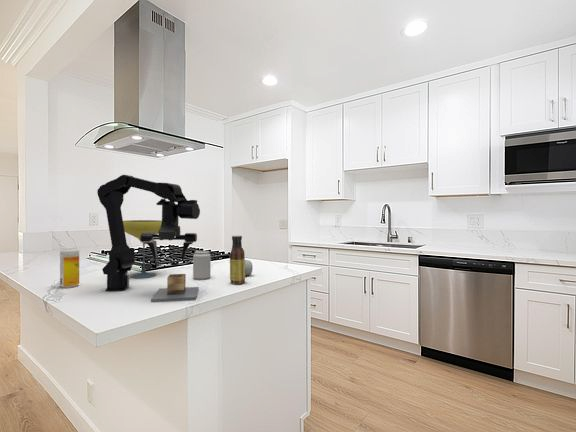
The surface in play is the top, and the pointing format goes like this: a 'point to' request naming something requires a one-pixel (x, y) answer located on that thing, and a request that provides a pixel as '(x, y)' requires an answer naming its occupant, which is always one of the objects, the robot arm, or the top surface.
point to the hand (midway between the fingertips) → (169, 260)
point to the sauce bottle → (237, 261)
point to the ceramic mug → (248, 267)
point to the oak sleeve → (176, 284)
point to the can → (201, 265)
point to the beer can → (69, 267)
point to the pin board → (162, 295)
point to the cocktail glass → (136, 230)
